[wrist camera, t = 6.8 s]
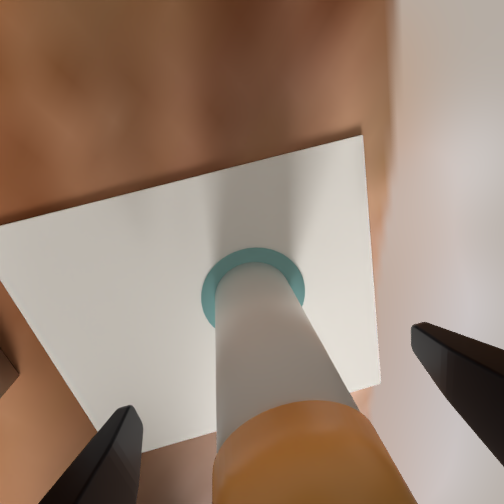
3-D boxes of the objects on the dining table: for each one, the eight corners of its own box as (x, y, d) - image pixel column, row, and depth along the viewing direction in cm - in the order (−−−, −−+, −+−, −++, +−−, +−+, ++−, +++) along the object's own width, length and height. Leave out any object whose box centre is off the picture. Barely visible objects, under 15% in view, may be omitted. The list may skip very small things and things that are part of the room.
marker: (297, 318, 14) (433, 595, 5) (224, 339, 14) (244, 656, 5) (284, 250, 13) (437, 474, 4) (202, 272, 13) (179, 554, 4)
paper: (378, 379, 17) (382, 384, 17) (117, 455, 16) (115, 462, 16) (359, 135, 12) (364, 134, 11) (-24, 231, 11) (-32, 234, 11)
